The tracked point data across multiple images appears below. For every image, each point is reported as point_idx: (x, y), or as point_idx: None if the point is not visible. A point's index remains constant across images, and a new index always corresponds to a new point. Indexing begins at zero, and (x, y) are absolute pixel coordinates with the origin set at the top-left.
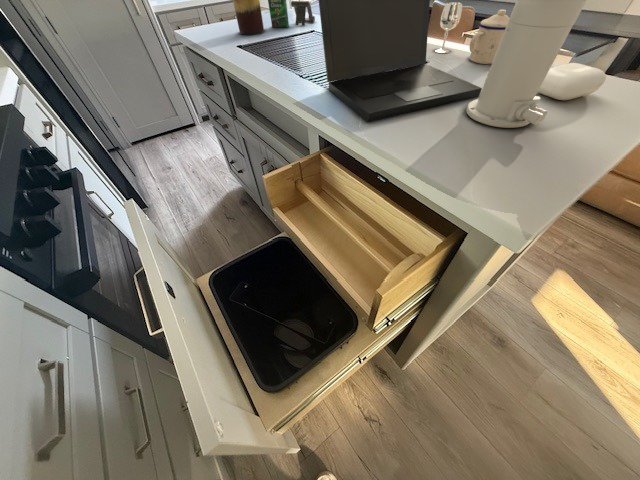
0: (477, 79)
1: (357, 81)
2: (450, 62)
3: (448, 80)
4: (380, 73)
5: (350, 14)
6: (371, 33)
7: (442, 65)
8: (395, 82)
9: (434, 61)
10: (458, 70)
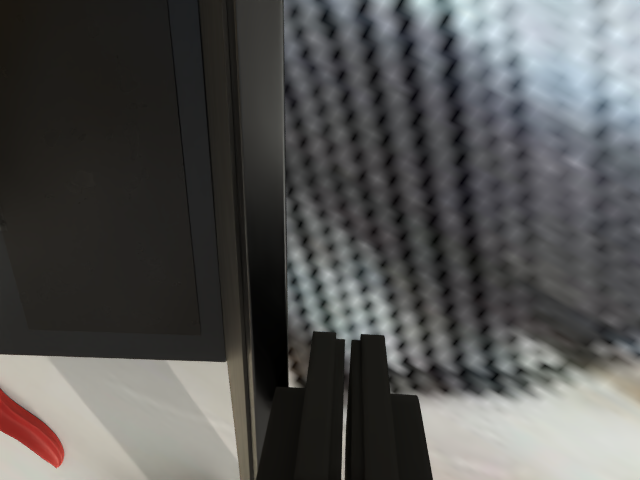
0: (95, 419)
1: (134, 9)
2: None
3: (32, 316)
4: (198, 161)
5: (209, 29)
6: (215, 166)
7: None
8: (70, 152)
9: None
10: (189, 429)
